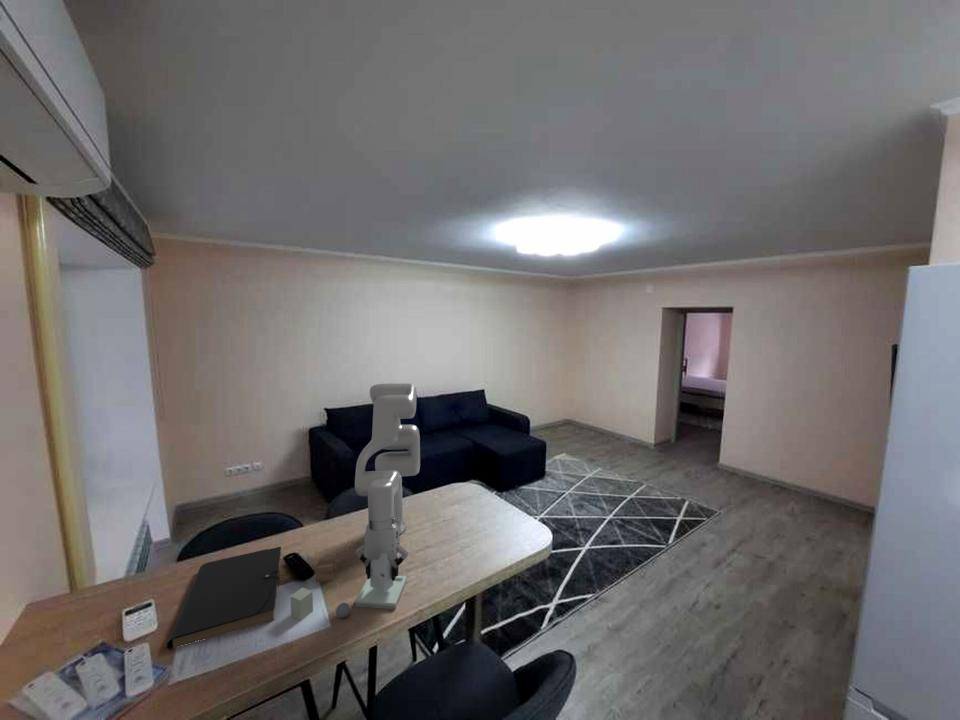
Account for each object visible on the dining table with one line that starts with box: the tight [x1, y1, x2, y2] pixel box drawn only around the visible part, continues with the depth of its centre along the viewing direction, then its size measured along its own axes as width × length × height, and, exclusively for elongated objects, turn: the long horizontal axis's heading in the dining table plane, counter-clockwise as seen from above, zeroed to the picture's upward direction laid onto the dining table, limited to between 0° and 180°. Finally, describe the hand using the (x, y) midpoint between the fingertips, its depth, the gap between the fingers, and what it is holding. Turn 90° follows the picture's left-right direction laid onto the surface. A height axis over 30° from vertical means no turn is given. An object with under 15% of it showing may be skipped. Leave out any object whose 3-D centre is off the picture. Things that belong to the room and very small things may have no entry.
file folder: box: [166, 546, 282, 651], centre depth 115 cm, size 33×4×24 cm
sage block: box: [289, 587, 314, 622], centre depth 107 cm, size 4×4×6 cm
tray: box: [354, 575, 408, 610], centre depth 116 cm, size 12×12×2 cm
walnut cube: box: [315, 556, 336, 583], centre depth 123 cm, size 5×5×5 cm
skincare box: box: [370, 553, 393, 593], centre depth 115 cm, size 6×4×12 cm
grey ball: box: [335, 602, 350, 619], centre depth 107 cm, size 4×4×4 cm
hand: (382, 576), depth 116 cm, fingers closed on skincare box, 7 cm apart
